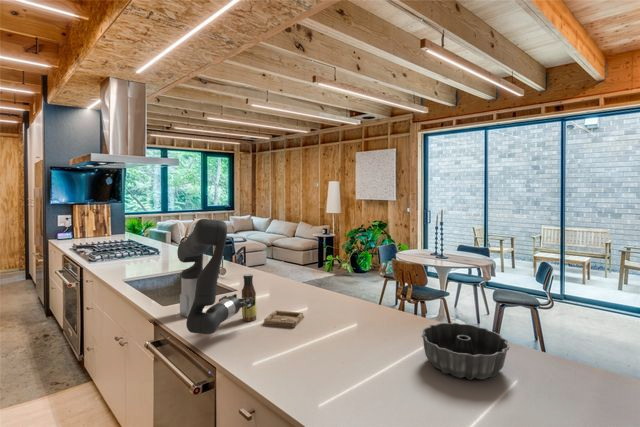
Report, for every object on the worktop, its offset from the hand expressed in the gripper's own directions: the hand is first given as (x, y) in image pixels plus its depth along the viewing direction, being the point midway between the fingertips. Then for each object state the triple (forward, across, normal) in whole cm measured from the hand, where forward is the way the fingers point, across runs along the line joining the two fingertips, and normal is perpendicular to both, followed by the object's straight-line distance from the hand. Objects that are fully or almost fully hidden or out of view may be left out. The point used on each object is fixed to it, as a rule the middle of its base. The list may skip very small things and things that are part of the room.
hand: (244, 297), depth 159 cm
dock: (+6, -16, +11) cm, 20 cm away
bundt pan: (-18, -86, +11) cm, 89 cm away
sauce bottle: (+4, 0, +11) cm, 12 cm away
